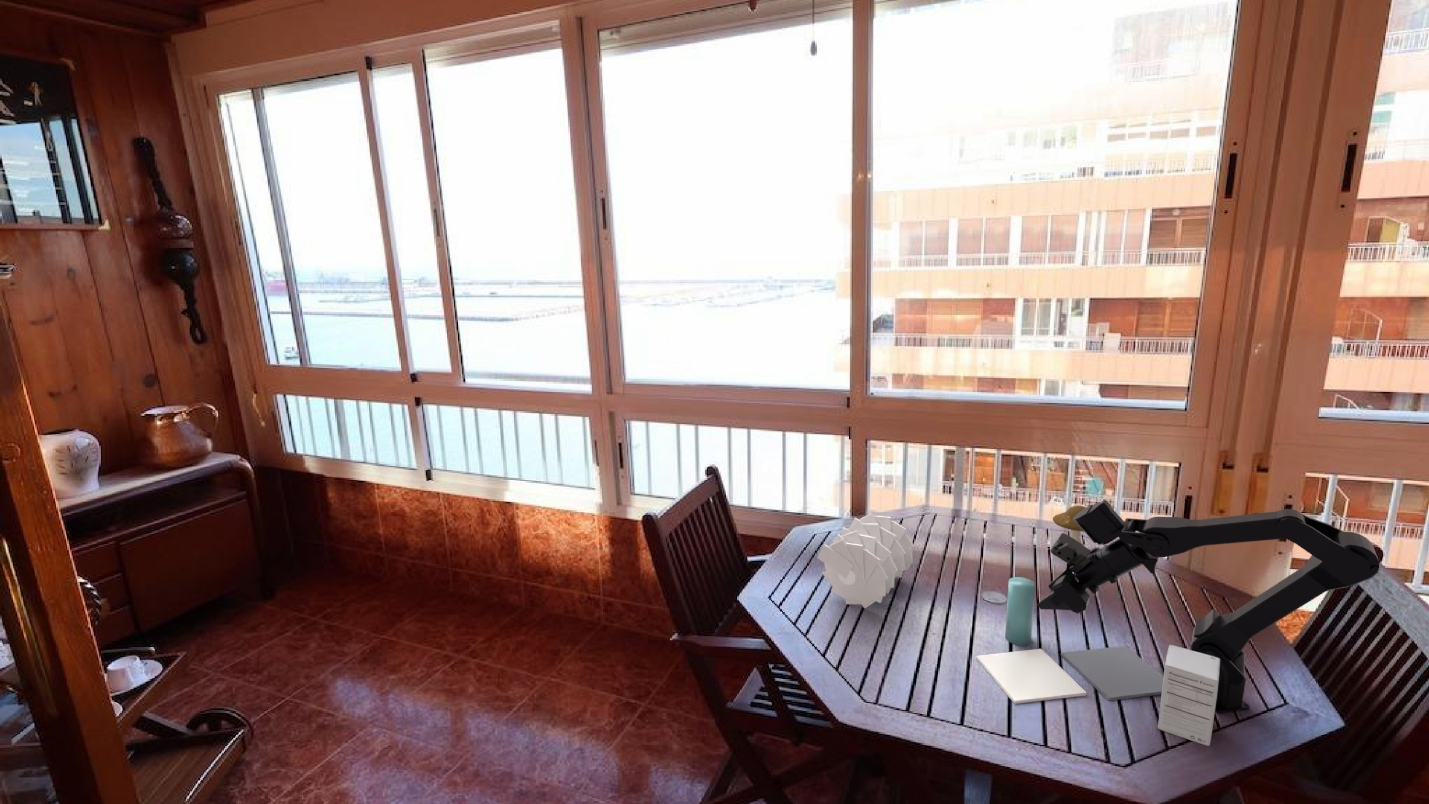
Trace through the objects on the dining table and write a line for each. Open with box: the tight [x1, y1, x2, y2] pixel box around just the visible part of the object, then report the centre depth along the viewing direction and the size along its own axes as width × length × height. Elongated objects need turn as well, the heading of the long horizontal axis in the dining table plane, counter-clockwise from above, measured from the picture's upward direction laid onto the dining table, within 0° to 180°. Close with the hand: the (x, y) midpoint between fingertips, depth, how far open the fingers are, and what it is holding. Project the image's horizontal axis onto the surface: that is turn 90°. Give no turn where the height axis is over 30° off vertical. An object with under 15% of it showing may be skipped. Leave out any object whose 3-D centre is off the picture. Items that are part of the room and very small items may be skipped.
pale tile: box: [975, 648, 1087, 704], centre depth 128 cm, size 14×14×1 cm
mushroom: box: [1052, 505, 1087, 544], centre depth 172 cm, size 9×11×15 cm
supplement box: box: [1157, 644, 1220, 747], centre depth 112 cm, size 7×7×13 cm
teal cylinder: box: [1004, 576, 1036, 647], centre depth 138 cm, size 5×5×13 cm
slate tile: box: [1060, 645, 1164, 701], centre depth 127 cm, size 14×14×1 cm
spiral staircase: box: [816, 512, 915, 609], centre depth 161 cm, size 18×18×25 cm
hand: (1044, 597), depth 135 cm, fingers open, 9 cm apart
